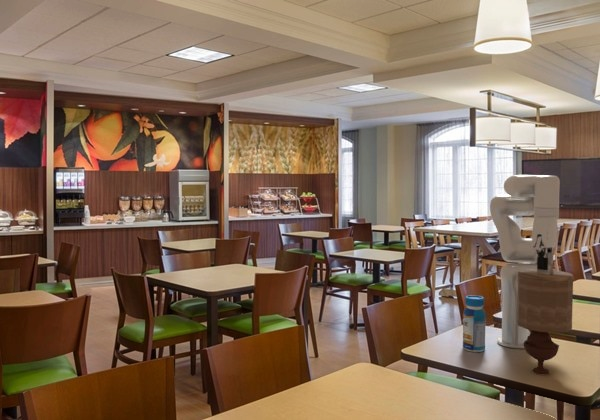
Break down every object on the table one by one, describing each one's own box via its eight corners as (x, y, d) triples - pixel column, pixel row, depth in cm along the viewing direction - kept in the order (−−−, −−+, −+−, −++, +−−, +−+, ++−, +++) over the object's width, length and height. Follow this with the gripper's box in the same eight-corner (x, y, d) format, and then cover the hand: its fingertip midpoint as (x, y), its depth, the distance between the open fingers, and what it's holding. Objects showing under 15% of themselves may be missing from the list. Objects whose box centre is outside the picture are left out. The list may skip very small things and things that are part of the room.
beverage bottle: (484, 353, 201) (485, 300, 200) (461, 351, 205) (461, 298, 203) (486, 347, 209) (487, 295, 208) (463, 344, 212) (464, 293, 211)
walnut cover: (529, 316, 193) (531, 247, 191) (579, 325, 181) (581, 252, 180) (508, 325, 181) (509, 252, 180) (559, 335, 169) (561, 257, 168)
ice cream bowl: (562, 378, 176) (564, 333, 175) (526, 376, 179) (527, 331, 178) (554, 367, 187) (555, 324, 186) (519, 365, 189) (520, 322, 188)
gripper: (545, 211, 187) (543, 264, 188) (523, 213, 176) (522, 270, 177) (567, 212, 182) (566, 267, 183) (547, 215, 171) (546, 273, 172)
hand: (545, 268), depth 180 cm, fingers closed on walnut cover, 3 cm apart
